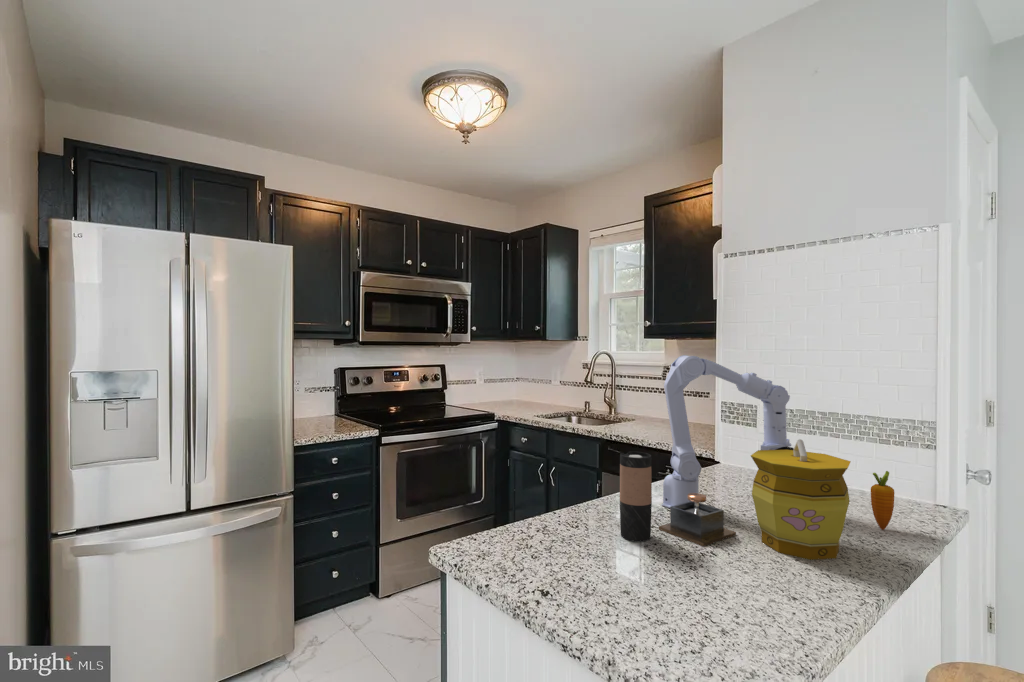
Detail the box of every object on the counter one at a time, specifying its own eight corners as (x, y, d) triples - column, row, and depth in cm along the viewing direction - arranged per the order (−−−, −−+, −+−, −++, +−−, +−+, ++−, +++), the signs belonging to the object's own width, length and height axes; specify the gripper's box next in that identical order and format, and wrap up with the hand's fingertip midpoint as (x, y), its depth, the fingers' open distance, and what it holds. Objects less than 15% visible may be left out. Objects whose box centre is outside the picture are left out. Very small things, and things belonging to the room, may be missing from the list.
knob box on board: (658, 529, 127) (658, 505, 127) (691, 519, 134) (691, 497, 134) (703, 546, 116) (703, 520, 116) (736, 535, 123) (736, 510, 124)
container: (834, 534, 124) (834, 434, 125) (870, 571, 104) (870, 450, 104) (742, 526, 130) (742, 430, 130) (759, 559, 110) (759, 445, 110)
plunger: (677, 514, 126) (677, 494, 126) (694, 510, 130) (694, 490, 130) (699, 522, 121) (699, 501, 121) (716, 517, 124) (716, 496, 124)
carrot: (872, 531, 127) (872, 471, 127) (869, 525, 131) (868, 467, 131) (896, 534, 124) (896, 474, 125) (892, 528, 129) (892, 470, 129)
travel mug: (652, 543, 118) (652, 458, 118) (619, 540, 120) (619, 457, 120) (650, 531, 125) (650, 452, 126) (619, 529, 127) (619, 450, 127)
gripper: (778, 431, 135) (780, 481, 134) (800, 425, 144) (801, 472, 144) (752, 428, 140) (753, 477, 140) (774, 422, 149) (776, 468, 149)
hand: (776, 474), depth 142 cm, fingers open, 7 cm apart
